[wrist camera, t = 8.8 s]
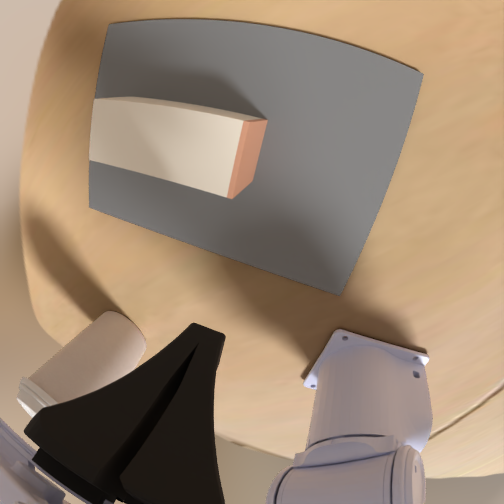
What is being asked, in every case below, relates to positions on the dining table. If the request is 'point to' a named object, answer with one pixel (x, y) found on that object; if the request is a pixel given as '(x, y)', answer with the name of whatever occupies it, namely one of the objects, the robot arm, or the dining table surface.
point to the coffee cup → (85, 363)
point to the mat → (265, 141)
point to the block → (178, 142)
